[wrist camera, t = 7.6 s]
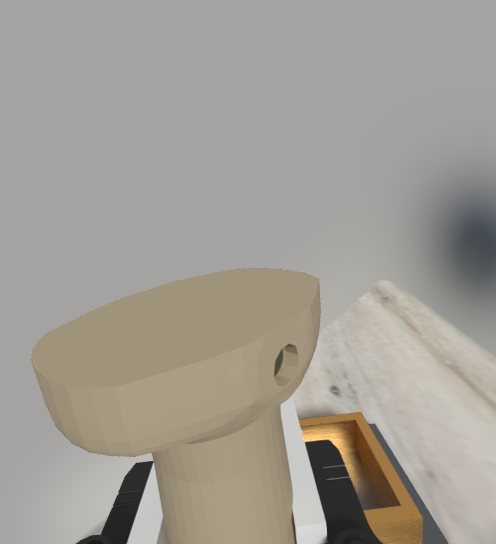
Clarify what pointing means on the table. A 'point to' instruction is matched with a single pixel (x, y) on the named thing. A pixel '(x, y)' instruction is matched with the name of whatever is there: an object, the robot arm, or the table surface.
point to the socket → (376, 479)
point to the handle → (193, 394)
